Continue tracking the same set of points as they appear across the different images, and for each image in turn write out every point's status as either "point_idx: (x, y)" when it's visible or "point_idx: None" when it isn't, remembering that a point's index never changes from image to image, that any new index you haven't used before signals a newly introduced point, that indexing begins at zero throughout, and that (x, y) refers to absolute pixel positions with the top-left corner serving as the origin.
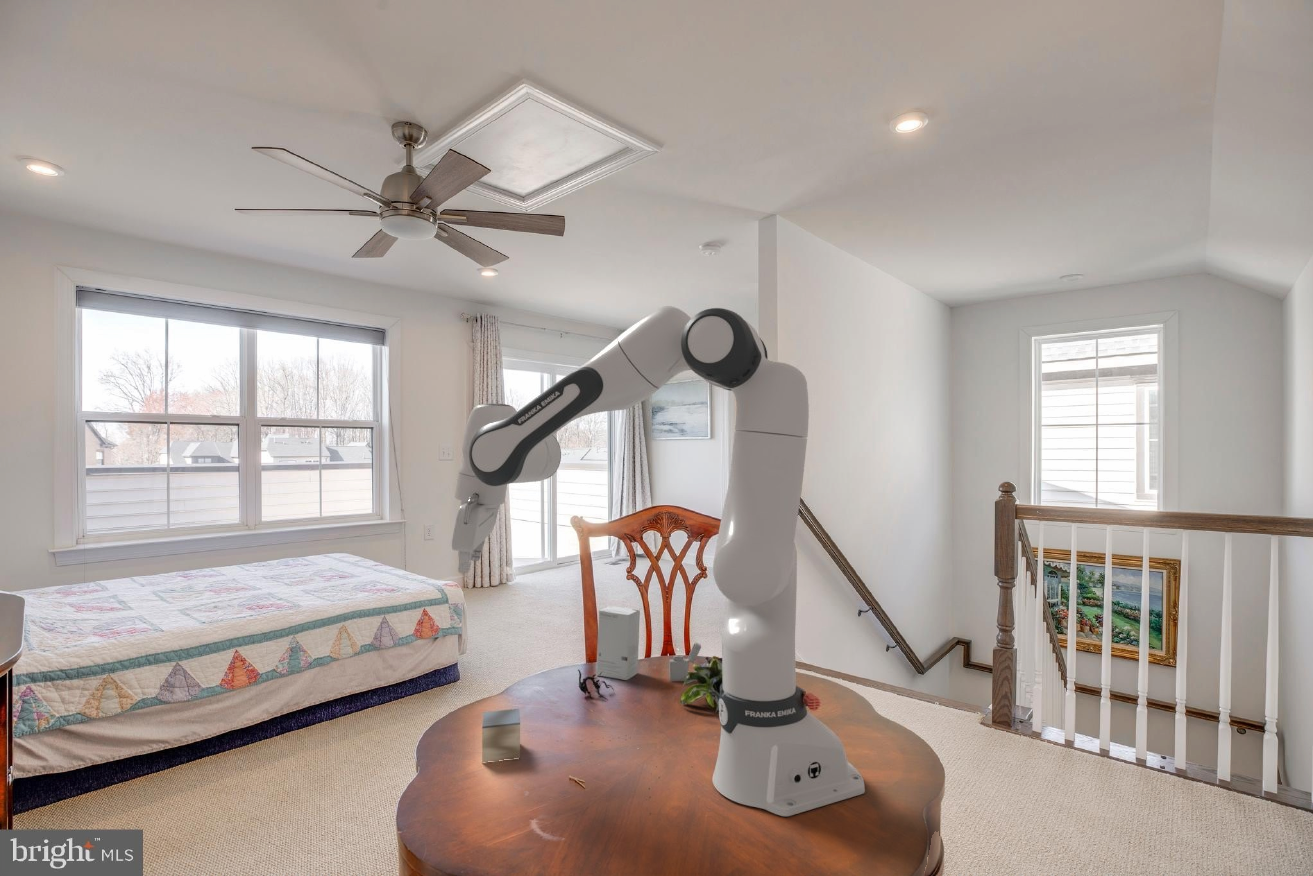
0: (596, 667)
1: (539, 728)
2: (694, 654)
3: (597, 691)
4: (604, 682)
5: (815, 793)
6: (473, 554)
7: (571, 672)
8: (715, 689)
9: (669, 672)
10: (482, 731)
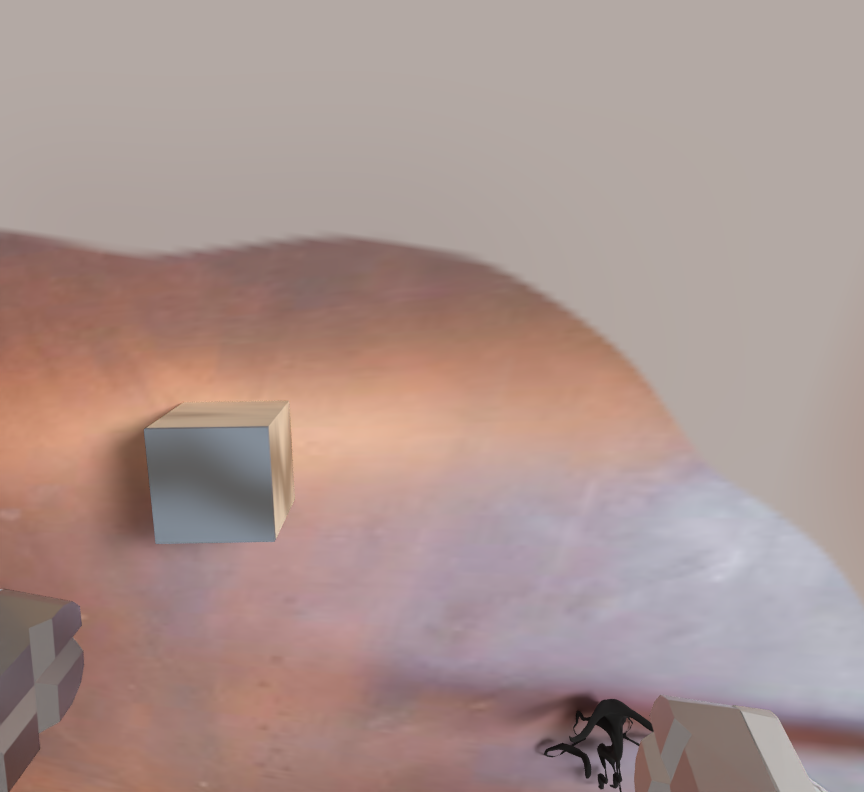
0: None
1: (385, 556)
2: None
3: (625, 737)
4: (606, 782)
5: None
6: (671, 788)
7: (840, 676)
8: None
9: None
10: (150, 425)
